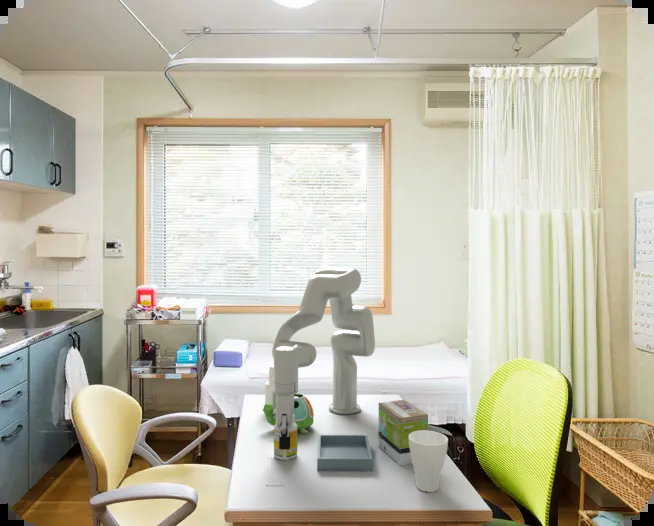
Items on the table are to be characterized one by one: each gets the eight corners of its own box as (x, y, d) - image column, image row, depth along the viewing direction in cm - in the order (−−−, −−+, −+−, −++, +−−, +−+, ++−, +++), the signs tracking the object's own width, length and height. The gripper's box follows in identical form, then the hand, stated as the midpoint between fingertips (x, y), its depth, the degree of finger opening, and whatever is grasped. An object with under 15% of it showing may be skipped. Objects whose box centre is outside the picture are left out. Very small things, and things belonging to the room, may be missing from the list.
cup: (454, 493, 128) (455, 443, 127) (418, 499, 125) (419, 447, 124) (435, 475, 138) (435, 428, 137) (401, 480, 135) (401, 432, 134)
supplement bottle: (272, 460, 146) (272, 418, 146) (275, 450, 154) (275, 410, 153) (296, 460, 146) (296, 418, 146) (298, 450, 154) (298, 410, 153)
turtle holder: (263, 423, 177) (263, 391, 177) (312, 422, 179) (312, 390, 179) (262, 436, 165) (262, 401, 165) (315, 435, 167) (315, 400, 166)
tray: (318, 445, 158) (318, 434, 158) (367, 445, 158) (367, 434, 158) (317, 470, 140) (317, 458, 140) (372, 471, 140) (372, 459, 140)
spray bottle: (281, 414, 186) (281, 368, 186) (263, 414, 187) (263, 368, 186) (283, 408, 193) (283, 364, 193) (266, 408, 193) (266, 363, 193)
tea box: (377, 446, 157) (377, 401, 157) (404, 442, 161) (405, 398, 160) (399, 466, 143) (400, 417, 143) (428, 461, 147) (429, 413, 146)
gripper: (276, 379, 158) (276, 432, 159) (270, 395, 141) (270, 455, 141) (299, 379, 158) (299, 433, 159) (296, 395, 141) (296, 456, 141)
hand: (285, 443), depth 150 cm, fingers closed on supplement bottle, 7 cm apart
